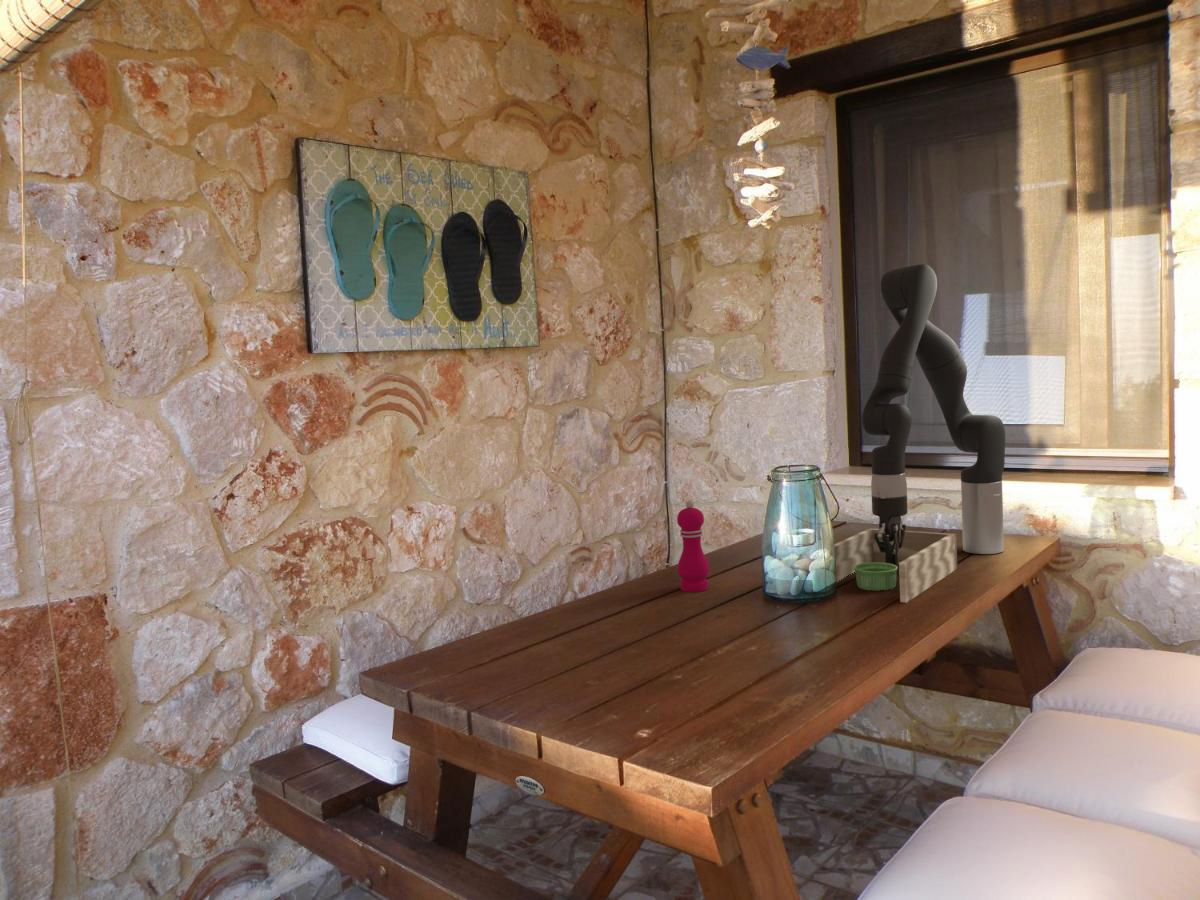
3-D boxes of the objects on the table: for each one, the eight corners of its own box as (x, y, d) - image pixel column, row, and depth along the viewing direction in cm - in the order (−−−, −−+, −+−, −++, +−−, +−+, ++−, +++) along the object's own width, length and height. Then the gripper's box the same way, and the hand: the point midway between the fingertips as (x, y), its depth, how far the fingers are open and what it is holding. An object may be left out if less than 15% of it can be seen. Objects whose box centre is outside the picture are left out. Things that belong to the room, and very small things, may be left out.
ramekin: (904, 590, 192) (903, 570, 192) (861, 593, 192) (861, 573, 192) (890, 580, 201) (889, 560, 200) (849, 583, 201) (849, 563, 200)
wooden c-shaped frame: (870, 561, 220) (869, 528, 219) (957, 568, 207) (956, 534, 206) (812, 592, 195) (810, 555, 194) (906, 602, 182) (904, 563, 181)
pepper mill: (710, 584, 208) (705, 497, 206) (711, 592, 201) (706, 502, 199) (678, 585, 208) (673, 499, 207) (678, 593, 201) (672, 504, 199)
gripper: (884, 488, 209) (886, 562, 211) (860, 497, 199) (863, 574, 201) (916, 489, 204) (919, 565, 206) (894, 498, 194) (897, 578, 196)
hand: (891, 569), depth 203 cm, fingers closed
